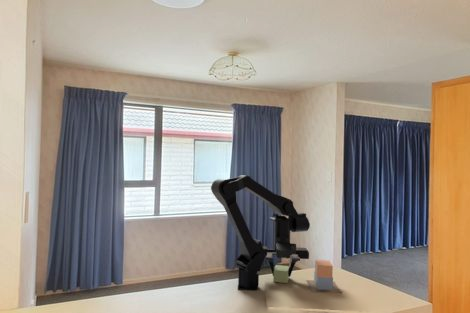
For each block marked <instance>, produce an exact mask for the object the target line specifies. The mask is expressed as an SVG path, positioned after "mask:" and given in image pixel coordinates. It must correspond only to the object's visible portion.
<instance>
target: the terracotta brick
mask: <svg viewBox="0 0 470 313" xmlns="http://www.w3.org/2000/svg"><path fill="white" fill-rule="evenodd" d="M333 267H334V266H333V264H332V263H331V261H330V260H326V259H325V260H324V259H314V271H315V273H316V276H317V277H323V278H332V277H333V269H334V268H333Z"/></svg>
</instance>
